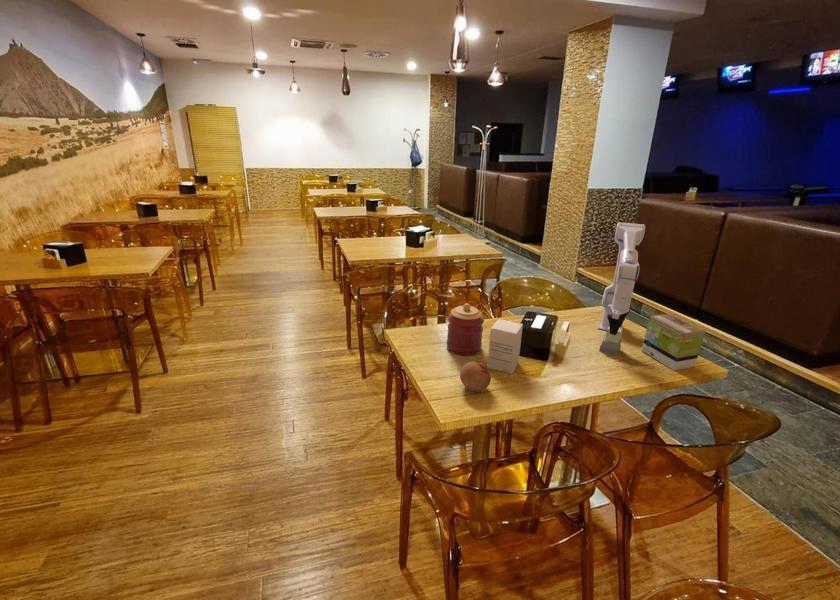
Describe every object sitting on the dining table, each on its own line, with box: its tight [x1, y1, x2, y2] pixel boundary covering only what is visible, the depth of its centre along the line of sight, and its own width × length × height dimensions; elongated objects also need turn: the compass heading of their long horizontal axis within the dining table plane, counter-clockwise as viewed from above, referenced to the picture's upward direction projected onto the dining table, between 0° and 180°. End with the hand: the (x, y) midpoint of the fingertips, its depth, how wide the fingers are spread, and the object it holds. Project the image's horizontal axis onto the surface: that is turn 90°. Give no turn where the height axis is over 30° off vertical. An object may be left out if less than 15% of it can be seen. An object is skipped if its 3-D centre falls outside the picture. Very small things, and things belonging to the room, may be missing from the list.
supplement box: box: [486, 318, 524, 374], centre depth 143 cm, size 9×9×15 cm
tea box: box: [641, 313, 706, 371], centre depth 150 cm, size 15×10×15 cm, turn 18°
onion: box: [459, 360, 492, 394], centre depth 130 cm, size 10×9×10 cm
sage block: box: [605, 327, 624, 343], centre depth 156 cm, size 4×4×4 cm
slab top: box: [601, 334, 622, 352], centre depth 157 cm, size 6×6×2 cm
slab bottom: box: [598, 343, 622, 356], centre depth 158 cm, size 6×6×2 cm
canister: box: [446, 303, 485, 356], centre depth 154 cm, size 13×13×18 cm
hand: (615, 330), depth 155 cm, fingers open, 7 cm apart
